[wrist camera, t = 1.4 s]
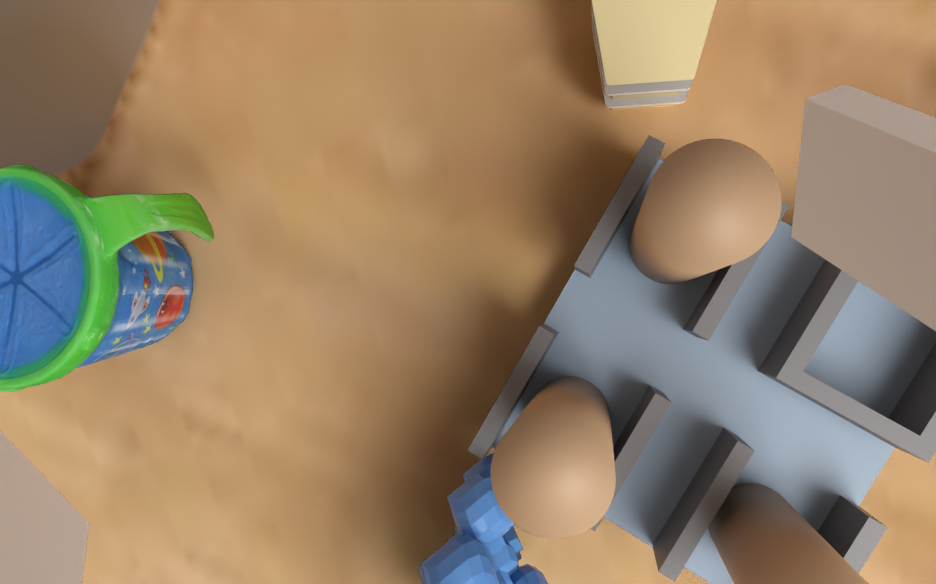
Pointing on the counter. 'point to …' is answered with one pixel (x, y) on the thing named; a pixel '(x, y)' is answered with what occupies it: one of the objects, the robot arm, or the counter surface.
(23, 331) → the snack cup
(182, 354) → the counter surface
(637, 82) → the tiered building model
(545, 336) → the stool
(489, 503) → the grapes
